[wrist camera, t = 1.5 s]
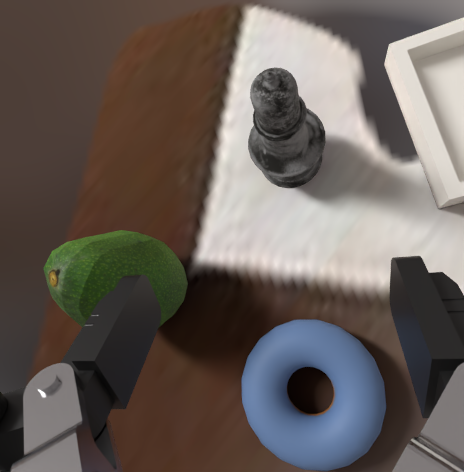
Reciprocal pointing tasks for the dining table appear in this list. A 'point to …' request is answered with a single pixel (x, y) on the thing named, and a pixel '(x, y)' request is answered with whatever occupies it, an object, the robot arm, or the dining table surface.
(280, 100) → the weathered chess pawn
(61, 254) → the avocado
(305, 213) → the dining table surface
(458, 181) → the ceramic dish
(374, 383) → the doughnut
